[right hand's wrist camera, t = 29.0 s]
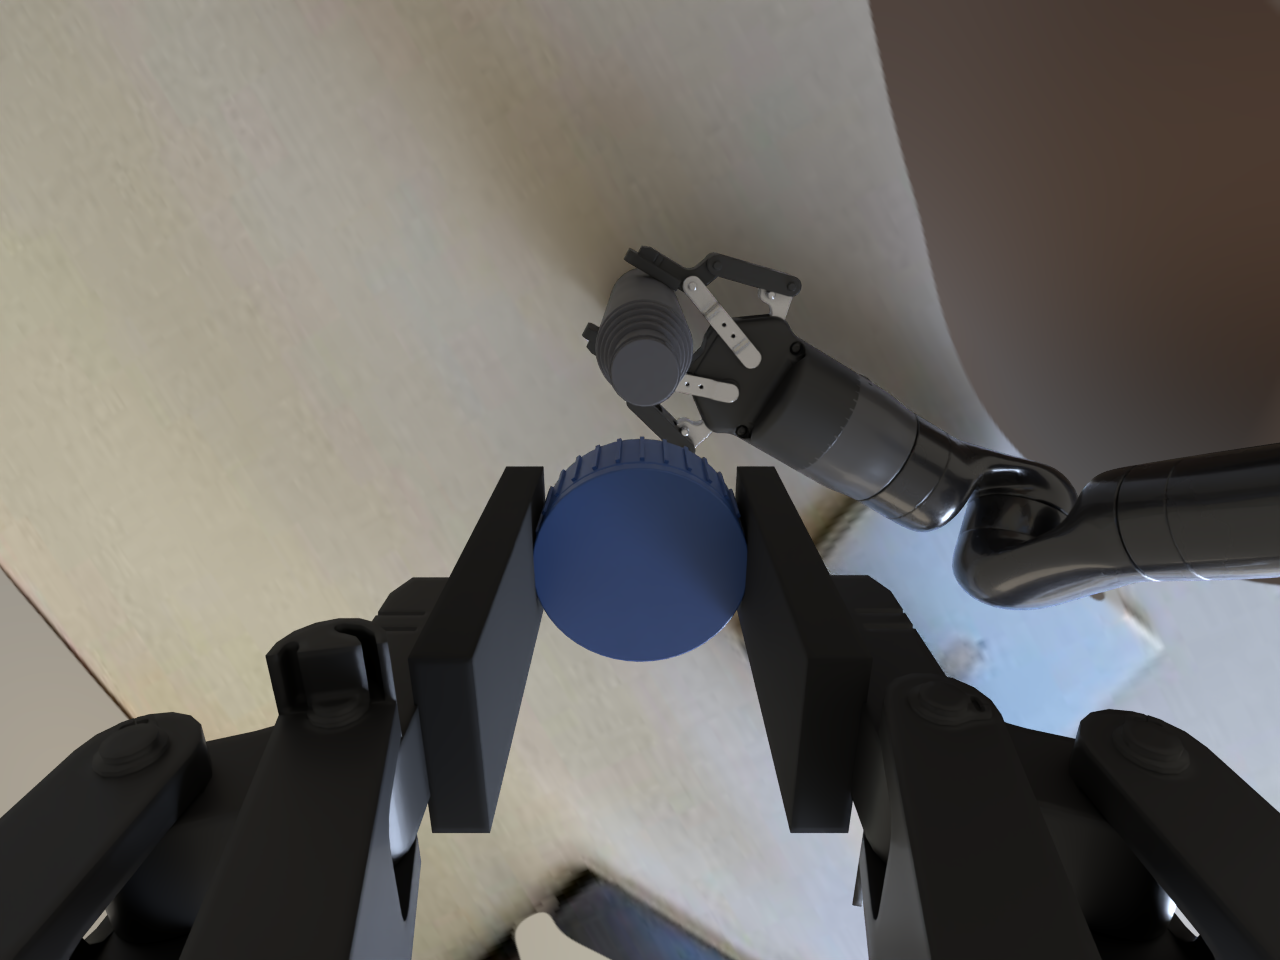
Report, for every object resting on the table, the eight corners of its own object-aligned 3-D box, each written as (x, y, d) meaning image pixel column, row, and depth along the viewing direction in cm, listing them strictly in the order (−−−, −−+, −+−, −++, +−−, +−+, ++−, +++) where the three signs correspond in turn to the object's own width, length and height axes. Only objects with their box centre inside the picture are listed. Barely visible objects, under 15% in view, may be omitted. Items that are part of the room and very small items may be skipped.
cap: (775, 480, 14) (792, 515, 13) (690, 641, 16) (696, 691, 14) (583, 403, 14) (575, 430, 12) (514, 577, 15) (498, 623, 13)
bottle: (644, 347, 52) (648, 449, 30) (597, 303, 51) (564, 376, 29) (688, 299, 51) (725, 369, 29) (640, 253, 50) (641, 290, 28)
